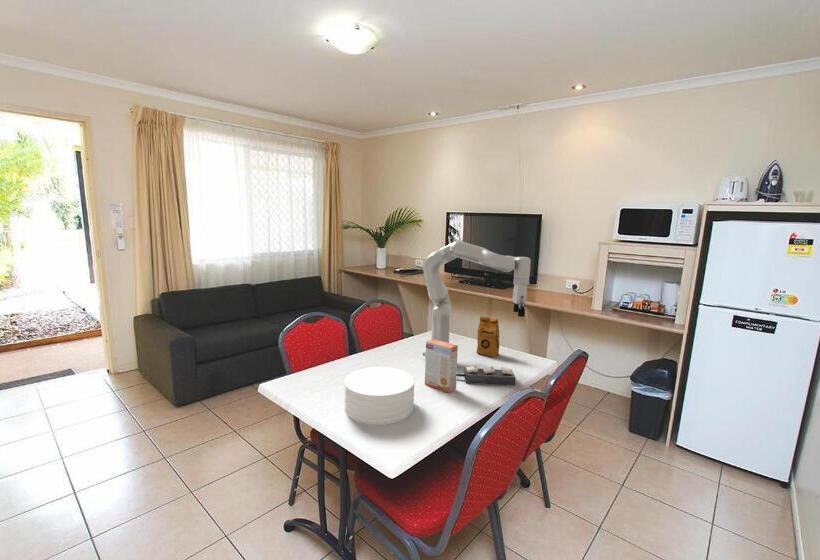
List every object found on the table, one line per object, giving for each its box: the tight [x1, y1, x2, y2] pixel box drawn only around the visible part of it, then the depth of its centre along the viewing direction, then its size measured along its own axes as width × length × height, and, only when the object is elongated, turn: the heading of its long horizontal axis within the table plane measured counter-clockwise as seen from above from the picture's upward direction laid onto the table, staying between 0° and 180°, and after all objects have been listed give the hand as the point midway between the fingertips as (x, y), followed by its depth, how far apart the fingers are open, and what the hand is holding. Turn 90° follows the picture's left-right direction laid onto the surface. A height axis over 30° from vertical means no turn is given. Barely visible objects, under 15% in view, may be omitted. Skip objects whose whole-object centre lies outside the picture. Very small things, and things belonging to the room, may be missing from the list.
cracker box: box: [424, 339, 459, 393], centre depth 175 cm, size 14×6×21 cm, turn 49°
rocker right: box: [500, 366, 514, 375], centre depth 184 cm, size 5×4×1 cm
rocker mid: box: [482, 366, 496, 373], centre depth 184 cm, size 5×4×1 cm
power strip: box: [456, 367, 517, 387], centre depth 185 cm, size 29×9×5 cm, turn 86°
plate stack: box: [343, 366, 415, 425], centre depth 156 cm, size 28×28×12 cm
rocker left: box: [465, 365, 479, 373], centre depth 185 cm, size 5×4×1 cm
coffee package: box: [476, 315, 500, 358], centre depth 221 cm, size 10×12×22 cm
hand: (518, 314), depth 198 cm, fingers open, 9 cm apart
